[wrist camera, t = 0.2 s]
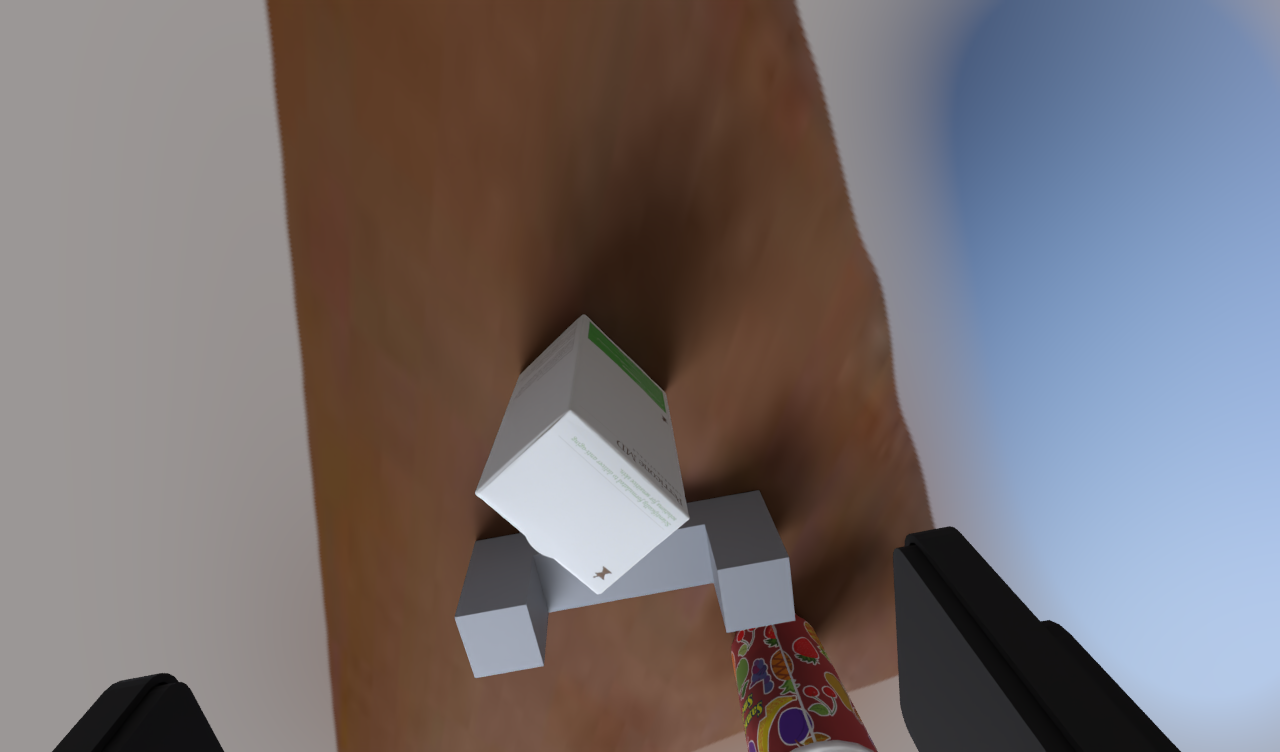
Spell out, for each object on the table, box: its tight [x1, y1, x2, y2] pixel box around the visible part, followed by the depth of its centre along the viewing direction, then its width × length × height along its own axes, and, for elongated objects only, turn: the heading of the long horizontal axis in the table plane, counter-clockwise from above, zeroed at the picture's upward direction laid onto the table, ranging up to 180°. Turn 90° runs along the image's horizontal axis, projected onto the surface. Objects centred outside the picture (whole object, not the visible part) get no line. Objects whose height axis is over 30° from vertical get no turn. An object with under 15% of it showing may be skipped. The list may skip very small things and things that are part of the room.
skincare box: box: [475, 314, 690, 594], centre depth 38 cm, size 8×7×16 cm
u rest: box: [455, 490, 795, 678], centre depth 46 cm, size 5×21×8 cm, turn 99°
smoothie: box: [731, 613, 878, 752], centre depth 45 cm, size 8×8×20 cm
